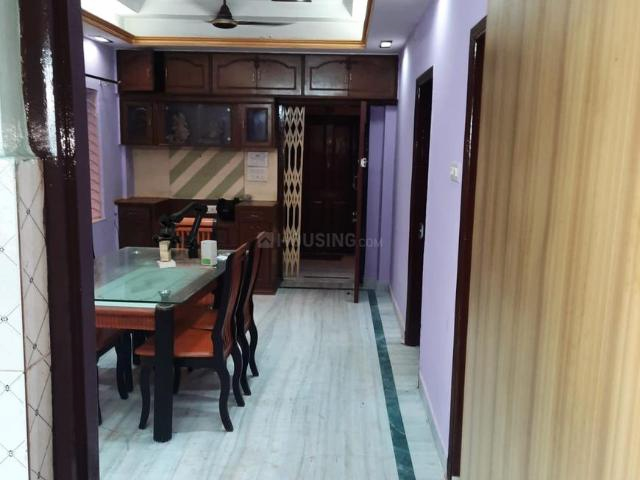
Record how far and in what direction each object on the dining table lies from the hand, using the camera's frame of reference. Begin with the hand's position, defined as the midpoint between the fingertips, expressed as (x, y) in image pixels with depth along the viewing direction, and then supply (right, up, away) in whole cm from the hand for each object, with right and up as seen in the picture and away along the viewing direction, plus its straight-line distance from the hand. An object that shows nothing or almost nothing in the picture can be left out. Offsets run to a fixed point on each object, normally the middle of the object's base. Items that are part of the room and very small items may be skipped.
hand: (164, 250), depth 357 cm
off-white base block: (0, -10, +3) cm, 11 cm away
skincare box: (+29, -9, +4) cm, 31 cm away
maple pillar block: (0, -6, +2) cm, 7 cm away
